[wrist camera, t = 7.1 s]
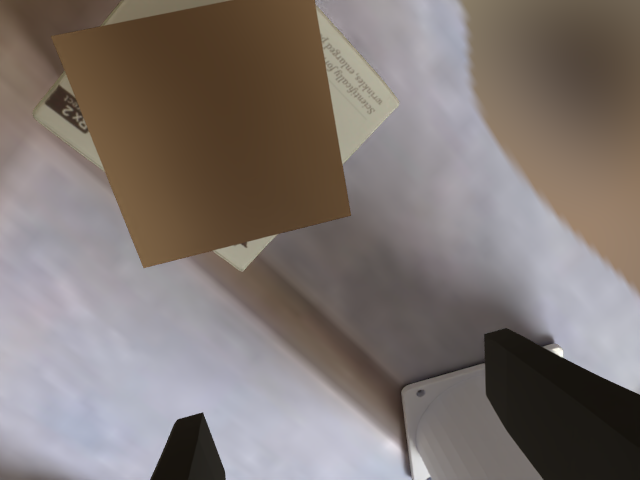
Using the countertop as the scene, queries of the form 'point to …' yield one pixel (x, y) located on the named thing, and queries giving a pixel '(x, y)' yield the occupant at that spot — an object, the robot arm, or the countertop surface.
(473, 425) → the robot arm
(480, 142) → the countertop surface
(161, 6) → the small box
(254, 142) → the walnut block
